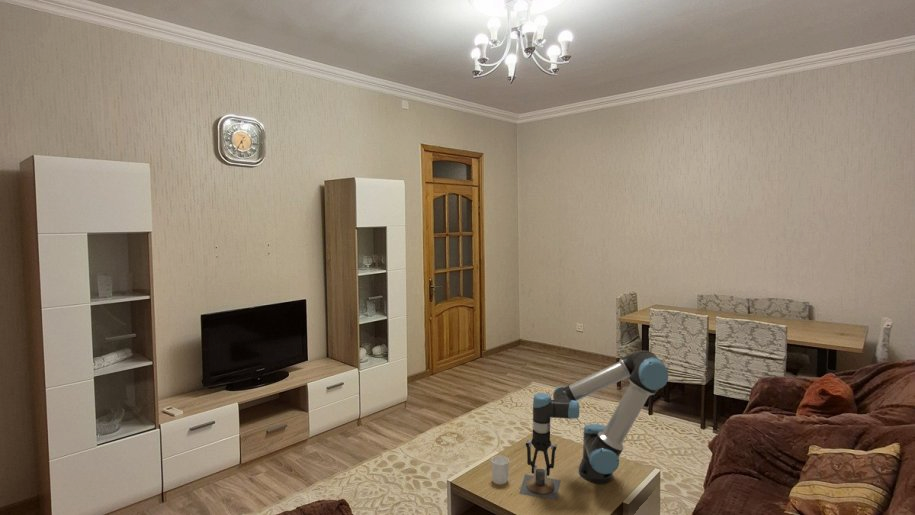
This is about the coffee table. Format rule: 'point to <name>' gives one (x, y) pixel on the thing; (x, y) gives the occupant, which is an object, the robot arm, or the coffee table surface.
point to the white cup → (500, 469)
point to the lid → (540, 483)
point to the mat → (551, 495)
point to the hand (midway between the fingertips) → (540, 480)
